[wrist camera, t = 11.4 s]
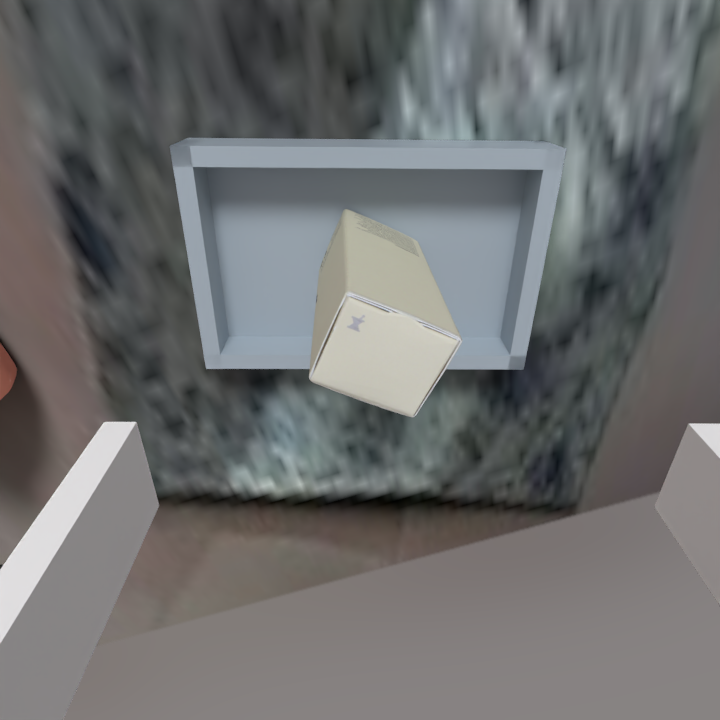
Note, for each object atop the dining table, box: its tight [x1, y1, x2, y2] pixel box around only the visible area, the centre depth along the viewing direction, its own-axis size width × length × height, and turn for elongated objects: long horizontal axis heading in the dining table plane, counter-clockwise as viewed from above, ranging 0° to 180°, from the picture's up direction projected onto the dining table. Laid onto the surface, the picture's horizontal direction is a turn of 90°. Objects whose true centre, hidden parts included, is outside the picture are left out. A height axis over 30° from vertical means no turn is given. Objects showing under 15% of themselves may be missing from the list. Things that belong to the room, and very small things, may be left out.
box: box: [309, 209, 463, 417], centre depth 26 cm, size 5×4×13 cm
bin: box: [170, 138, 567, 370], centre depth 30 cm, size 13×20×3 cm, turn 89°
